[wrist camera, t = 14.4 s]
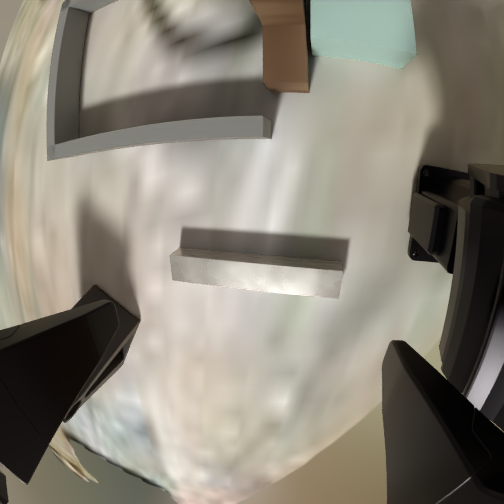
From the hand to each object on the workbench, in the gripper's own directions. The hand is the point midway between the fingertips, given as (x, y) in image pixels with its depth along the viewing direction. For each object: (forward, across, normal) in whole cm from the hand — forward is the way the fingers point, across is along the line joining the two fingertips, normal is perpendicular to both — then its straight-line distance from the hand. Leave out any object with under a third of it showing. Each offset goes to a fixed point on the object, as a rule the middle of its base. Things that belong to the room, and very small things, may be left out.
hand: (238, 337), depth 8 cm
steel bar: (+12, +2, +3) cm, 13 cm away
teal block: (+12, -5, -15) cm, 20 cm away
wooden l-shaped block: (+12, 0, -14) cm, 19 cm away
